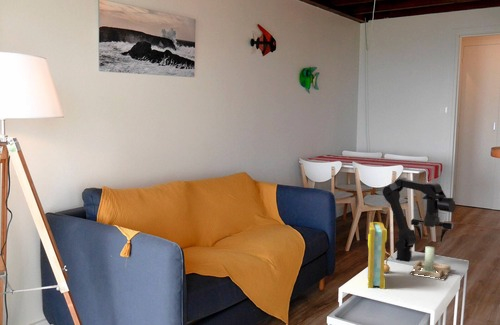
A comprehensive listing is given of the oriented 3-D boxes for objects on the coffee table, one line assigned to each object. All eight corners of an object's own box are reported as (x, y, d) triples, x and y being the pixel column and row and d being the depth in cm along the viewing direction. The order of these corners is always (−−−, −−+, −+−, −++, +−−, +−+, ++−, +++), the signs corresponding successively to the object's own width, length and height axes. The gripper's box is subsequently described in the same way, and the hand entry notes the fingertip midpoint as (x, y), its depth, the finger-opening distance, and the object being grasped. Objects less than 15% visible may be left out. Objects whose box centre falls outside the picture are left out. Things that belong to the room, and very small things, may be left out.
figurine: (395, 273, 218) (396, 248, 217) (390, 276, 213) (391, 250, 213) (378, 269, 223) (379, 245, 222) (373, 272, 219) (374, 247, 218)
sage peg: (420, 273, 216) (421, 247, 215) (423, 270, 221) (424, 245, 221) (434, 275, 213) (435, 249, 212) (436, 272, 218) (438, 247, 217)
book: (384, 289, 197) (386, 230, 195) (368, 287, 198) (370, 229, 196) (381, 276, 213) (383, 222, 211) (366, 275, 215) (368, 221, 213)
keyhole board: (409, 274, 217) (410, 269, 217) (417, 265, 232) (418, 260, 232) (444, 280, 209) (444, 275, 209) (450, 270, 224) (450, 265, 224)
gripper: (409, 209, 226) (407, 241, 227) (450, 213, 216) (448, 247, 217) (414, 206, 235) (412, 237, 236) (454, 210, 225) (452, 242, 227)
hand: (431, 240), depth 229 cm, fingers open, 9 cm apart
